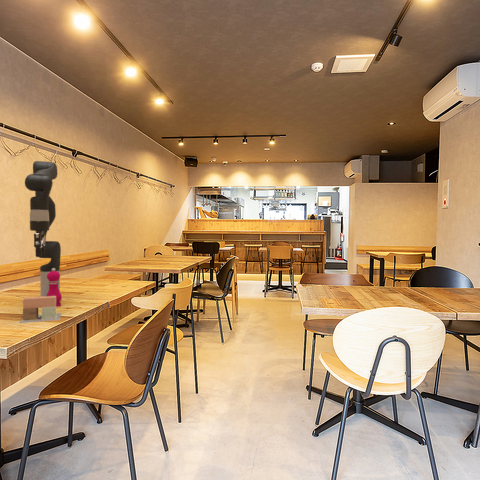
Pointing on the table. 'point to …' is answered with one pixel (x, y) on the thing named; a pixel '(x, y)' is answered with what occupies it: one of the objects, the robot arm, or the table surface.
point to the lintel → (39, 302)
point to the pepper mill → (54, 286)
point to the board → (42, 319)
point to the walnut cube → (30, 314)
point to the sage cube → (48, 312)
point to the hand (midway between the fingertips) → (40, 256)
